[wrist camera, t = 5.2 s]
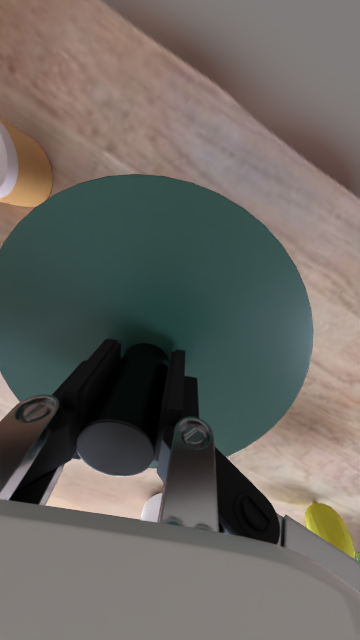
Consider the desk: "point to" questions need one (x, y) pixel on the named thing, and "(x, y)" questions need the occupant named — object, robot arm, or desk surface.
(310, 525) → the lemon
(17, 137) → the cake
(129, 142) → the desk surface
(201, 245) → the lid
